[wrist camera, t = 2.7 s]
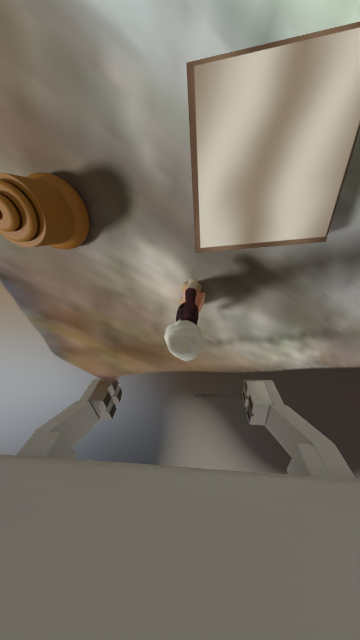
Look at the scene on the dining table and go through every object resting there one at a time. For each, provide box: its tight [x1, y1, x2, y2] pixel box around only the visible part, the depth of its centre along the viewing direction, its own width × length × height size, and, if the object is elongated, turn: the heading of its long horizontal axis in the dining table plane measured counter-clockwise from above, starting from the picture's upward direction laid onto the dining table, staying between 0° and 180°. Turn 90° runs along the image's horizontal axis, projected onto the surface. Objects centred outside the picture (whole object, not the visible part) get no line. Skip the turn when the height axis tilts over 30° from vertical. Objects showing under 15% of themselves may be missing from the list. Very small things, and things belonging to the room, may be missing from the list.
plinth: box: [187, 22, 360, 253], centre depth 15 cm, size 12×12×5 cm
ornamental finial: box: [0, 172, 89, 249], centre depth 17 cm, size 8×8×8 cm
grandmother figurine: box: [165, 278, 205, 361], centre depth 19 cm, size 8×4×13 cm, turn 1°
